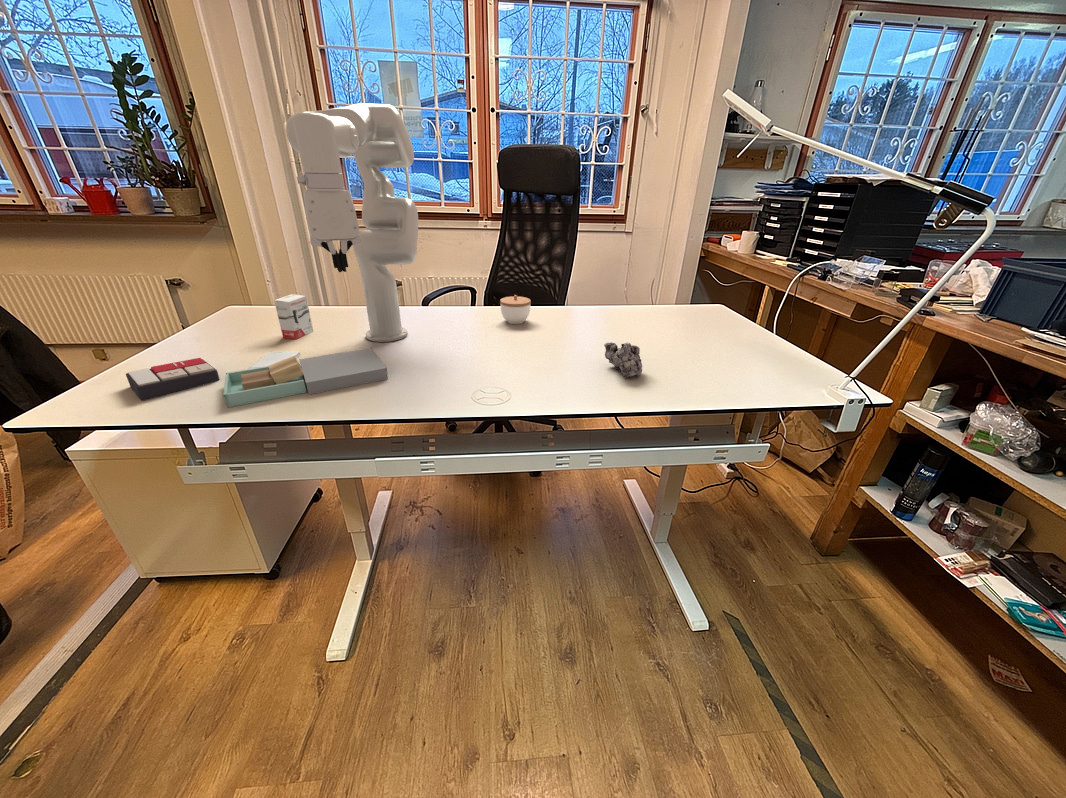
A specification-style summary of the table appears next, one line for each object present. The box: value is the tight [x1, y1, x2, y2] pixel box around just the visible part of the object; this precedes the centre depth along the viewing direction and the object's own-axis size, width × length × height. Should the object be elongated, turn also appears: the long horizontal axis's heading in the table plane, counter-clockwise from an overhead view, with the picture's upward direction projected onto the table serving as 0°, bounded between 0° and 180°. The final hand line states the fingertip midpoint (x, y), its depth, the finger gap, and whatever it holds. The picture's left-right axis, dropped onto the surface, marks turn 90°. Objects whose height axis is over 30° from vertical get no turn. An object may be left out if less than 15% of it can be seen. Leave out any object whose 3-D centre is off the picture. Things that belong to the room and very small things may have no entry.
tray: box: [222, 366, 308, 408], centre depth 99 cm, size 13×15×3 cm
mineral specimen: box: [603, 341, 643, 380], centre depth 111 cm, size 12×9×10 cm
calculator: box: [125, 357, 220, 402], centre depth 100 cm, size 11×4×15 cm
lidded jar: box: [499, 294, 532, 325], centre depth 149 cm, size 11×11×9 cm
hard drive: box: [246, 351, 301, 370], centre depth 113 cm, size 2×8×12 cm
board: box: [298, 347, 389, 395], centre depth 107 cm, size 16×18×3 cm
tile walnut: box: [241, 370, 275, 390], centre depth 98 cm, size 6×6×3 cm
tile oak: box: [269, 356, 304, 384], centre depth 100 cm, size 6×6×3 cm
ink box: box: [274, 293, 314, 340], centre depth 131 cm, size 8×5×12 cm, turn 169°
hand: (341, 270), depth 99 cm, fingers closed
